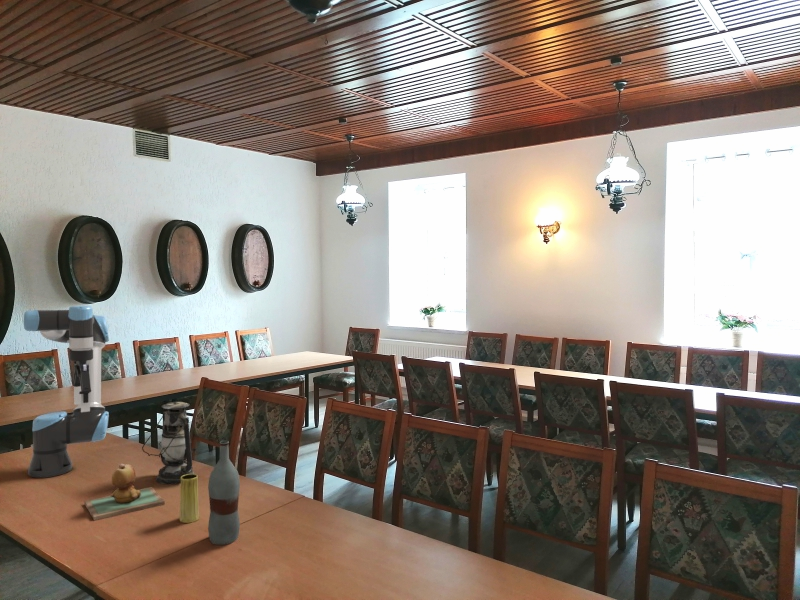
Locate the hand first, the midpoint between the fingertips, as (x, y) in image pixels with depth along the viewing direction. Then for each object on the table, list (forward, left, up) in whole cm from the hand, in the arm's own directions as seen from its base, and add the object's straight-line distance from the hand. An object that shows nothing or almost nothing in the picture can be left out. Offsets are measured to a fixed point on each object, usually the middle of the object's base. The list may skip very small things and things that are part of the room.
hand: (81, 407), depth 205 cm
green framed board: (+18, +10, -32) cm, 38 cm away
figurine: (+18, +10, -31) cm, 37 cm away
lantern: (+3, +30, -32) cm, 44 cm away
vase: (+43, +24, -32) cm, 59 cm away
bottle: (+63, +28, -32) cm, 76 cm away
